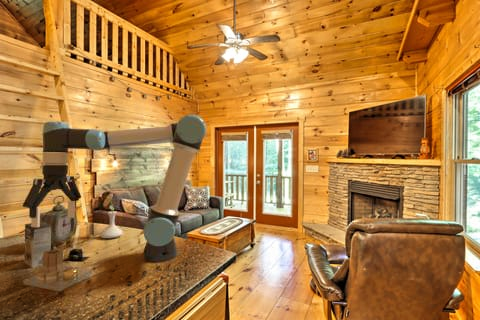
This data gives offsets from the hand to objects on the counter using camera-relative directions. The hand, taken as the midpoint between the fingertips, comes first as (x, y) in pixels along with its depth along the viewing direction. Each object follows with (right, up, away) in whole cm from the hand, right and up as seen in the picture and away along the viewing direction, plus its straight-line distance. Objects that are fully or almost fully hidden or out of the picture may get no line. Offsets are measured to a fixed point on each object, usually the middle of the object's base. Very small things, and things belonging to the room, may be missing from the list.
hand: (54, 221), depth 91 cm
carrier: (+2, -21, -1) cm, 21 cm away
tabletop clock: (-22, -20, +31) cm, 43 cm away
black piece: (-3, -21, +17) cm, 27 cm away
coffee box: (-16, -20, +12) cm, 29 cm away
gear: (-1, -19, 0) cm, 19 cm away
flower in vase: (-3, -20, +46) cm, 50 cm away
